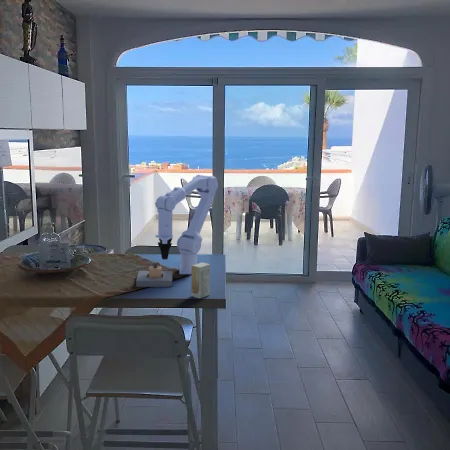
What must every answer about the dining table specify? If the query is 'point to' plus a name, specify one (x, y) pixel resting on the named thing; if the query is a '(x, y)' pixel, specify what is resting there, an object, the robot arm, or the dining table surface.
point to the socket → (154, 279)
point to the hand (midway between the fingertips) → (165, 256)
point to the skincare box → (200, 280)
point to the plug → (155, 271)
